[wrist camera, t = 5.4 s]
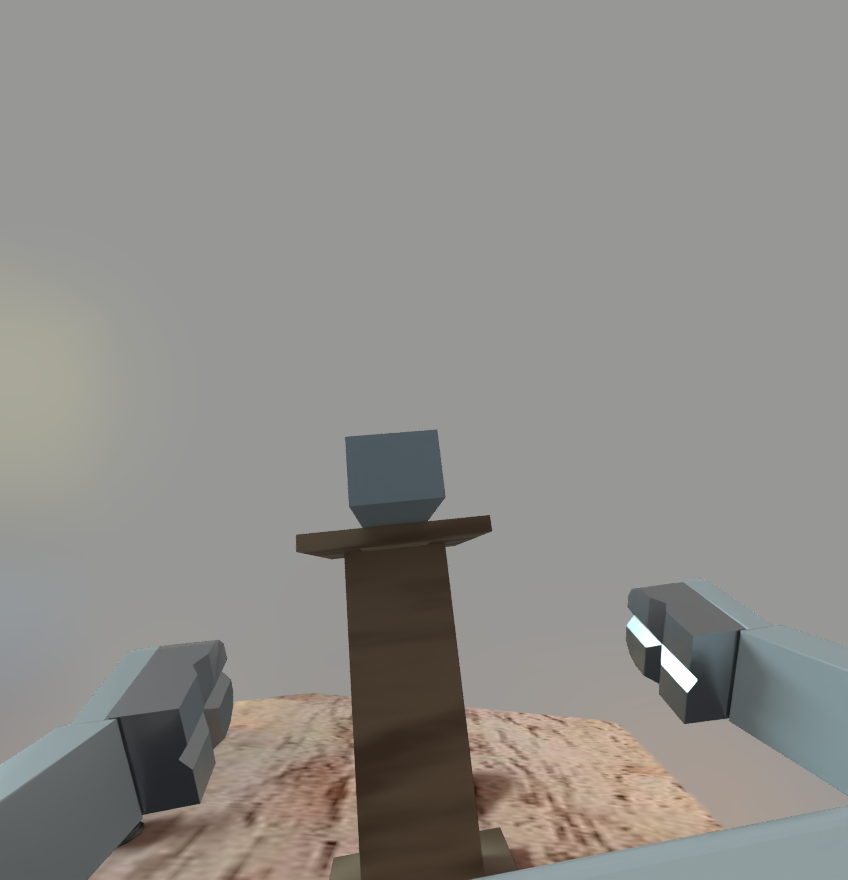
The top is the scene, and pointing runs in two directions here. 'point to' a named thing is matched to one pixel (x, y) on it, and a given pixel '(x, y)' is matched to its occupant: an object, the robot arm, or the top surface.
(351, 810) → the top surface
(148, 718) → the robot arm
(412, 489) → the batten
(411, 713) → the shelf stand
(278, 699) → the top surface
